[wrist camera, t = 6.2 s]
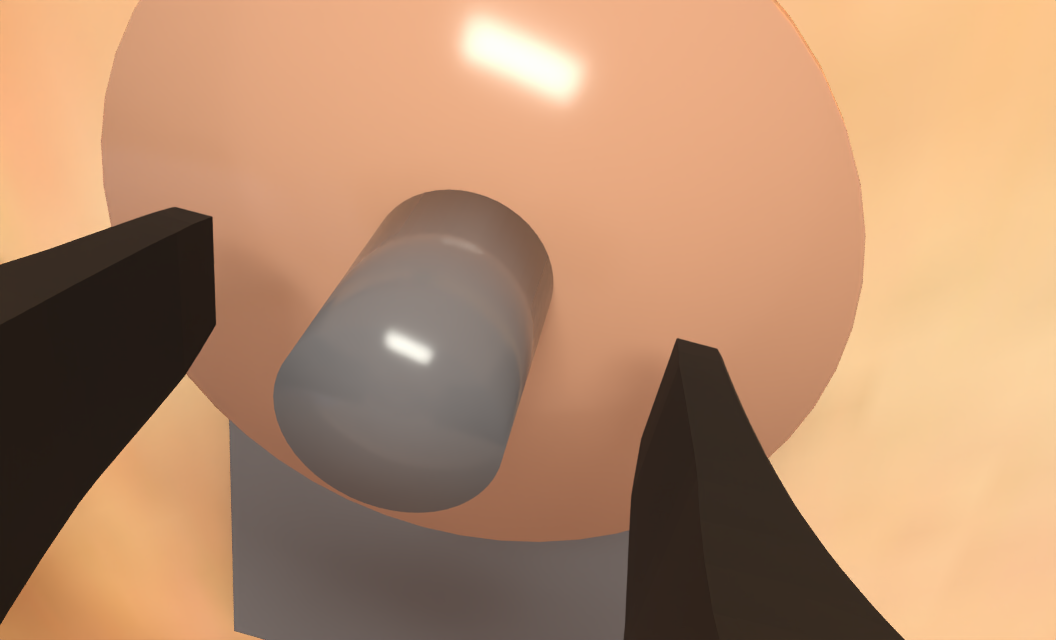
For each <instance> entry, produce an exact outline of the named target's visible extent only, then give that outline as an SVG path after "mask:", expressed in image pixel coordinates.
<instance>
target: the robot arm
mask: <svg viewBox="0 0 1056 640" xmlns="http://www.w3.org/2000/svg"><path fill="white" fill-rule="evenodd" d="M215 326H216V305H215V274H214V244H213V217H212V216H209V215H205V214H201V213H197V212H193V211H189V210H186V209H182V208H178V207H171V208H168V209H164V210H160V211H157V212H154V213H151V214H147V215H144V216H141V217H139V218H136V219H133V220H130V221H127V222H124V223H121V224H119V225H116V226H113V227H110V228H107V229H105V230H102V231H99V232H96V233H94V234H91V235H88V236H85V237H82V238H79V239H77V240H74V241H71V242H68V243H65V244H62V245H60V246H57V247H54V248H51V249H48V250H45V251H42V252H39V253H36V254H33V255H29V256H26V257H23V258H20V259H17V260H13V261H10V262H7V263H4V264H1V265H0V625H1V623H2V621H3V620H4V618H5V616H6V614H7V613H8V611H9V609H10V608H11V606H12V605H13V603H14V602H15V600H16V598H17V597H18V595H19V594H20V592H21V590H22V589H23V587H24V586H25V584H26V583H27V581H28V579H29V578H30V576H31V575H32V573H33V571H34V570H35V568H36V567H37V565H38V564H39V562H40V560H41V559H42V557H43V556H44V554H45V553H46V551H47V550H48V548H49V547H50V545H51V544H52V542H53V541H54V539H55V538H56V536H57V535H58V533H59V532H60V530H61V529H62V527H63V526H64V524H65V523H66V522H67V520H68V519H69V517H70V516H71V514H72V513H73V511H74V510H75V508H76V507H77V505H78V504H79V502H80V501H81V500H82V498H83V497H84V496H85V495H86V493H87V492H88V491H89V489H90V488H91V487H92V486H93V484H94V483H95V482H96V480H97V479H98V478H99V477H100V476H101V474H102V473H103V472H104V471H105V470H106V469H107V467H108V466H109V465H110V464H111V463H112V462H113V460H114V459H115V458H116V457H117V456H118V454H119V453H120V452H121V451H122V450H123V449H124V447H125V446H126V445H127V444H128V443H129V442H130V440H131V439H132V438H133V437H134V436H135V435H136V433H137V432H138V431H139V430H140V429H141V427H142V426H143V425H144V424H145V423H146V422H147V420H148V419H149V418H150V417H151V416H152V415H153V413H154V412H155V411H156V410H157V409H158V407H159V406H160V405H161V404H162V403H163V401H164V400H165V399H166V398H167V397H168V395H169V394H170V393H171V392H172V391H173V389H174V388H175V387H176V386H177V385H178V383H179V382H180V381H181V380H182V378H183V377H184V376H185V375H186V373H187V372H188V370H189V368H190V367H191V365H192V364H193V362H194V361H195V359H196V358H197V356H198V354H199V353H200V351H201V349H202V348H203V346H204V344H205V343H206V341H207V339H208V338H209V336H210V334H211V333H212V331H213V329H214V327H215ZM624 640H905V639H904V638H903V637H902V636H901V635H900V634H899V633H898V632H897V631H896V630H895V629H894V628H893V627H892V626H891V625H890V624H889V623H888V622H887V621H886V620H885V619H884V618H883V616H882V615H881V614H880V613H879V612H878V611H877V610H876V609H875V608H874V607H873V606H872V604H871V603H870V602H869V601H868V600H867V599H866V597H865V596H864V595H863V594H862V593H861V592H860V590H859V589H858V588H857V587H856V586H855V584H854V583H853V582H852V581H851V580H850V579H849V577H848V576H847V575H846V574H845V573H844V572H843V570H842V569H841V568H840V567H839V565H838V564H837V563H836V561H835V560H834V559H833V558H832V556H831V555H830V554H829V553H828V551H827V550H826V549H825V547H824V546H823V544H822V543H821V542H820V540H819V539H818V537H817V536H816V535H815V533H814V532H813V530H812V529H811V528H810V526H809V525H808V523H807V522H806V521H805V519H804V518H803V516H802V515H801V513H800V512H799V510H798V509H797V507H796V506H795V504H794V503H793V501H792V499H791V498H790V496H789V494H788V493H787V491H786V489H785V488H784V486H783V484H782V482H781V481H780V479H779V477H778V476H777V474H776V472H775V470H774V468H773V467H772V465H771V463H770V461H769V459H768V457H767V456H766V454H765V452H764V450H763V448H762V446H761V444H760V442H759V440H758V438H757V436H756V434H755V432H754V430H753V428H752V426H751V424H750V422H749V419H748V417H747V415H746V413H745V411H744V409H743V406H742V404H741V402H740V399H739V397H738V395H737V393H736V390H735V388H734V385H733V383H732V381H731V378H730V376H729V373H728V371H727V368H726V366H725V363H724V361H723V358H722V356H721V354H720V352H719V351H718V349H717V348H713V347H709V346H706V345H702V344H698V343H694V342H690V341H687V340H683V339H679V338H677V339H676V341H675V344H674V347H673V350H672V353H671V356H670V358H669V361H668V364H667V367H666V370H665V372H664V375H663V378H662V381H661V384H660V387H659V389H658V392H657V395H656V398H655V401H654V403H653V406H652V409H651V412H650V415H649V418H648V420H647V423H646V426H645V429H644V432H643V434H642V437H641V442H640V447H639V453H638V458H637V464H636V470H635V476H634V482H633V487H632V493H631V506H630V525H629V546H628V568H627V590H626V612H625V630H624Z"/></svg>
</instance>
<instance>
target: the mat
mask: <svg viewBox="0 0 1056 640" xmlns="http://www.w3.org/2000/svg"><path fill="white" fill-rule="evenodd" d="M229 429H230V471H231V512H232V554H233V596H234V631H237V632H240V633H244V634H247V635H251V636H254V637H258V638H261V639H265V640H624V630H625V612H626V590H627V568H628V546H629V530H628V531H624V532H620V533H617V534H610V535H604V536H598V537H592V538H585V539H579V540H564V541H547V542H528V541H501V540H493V539H485V538H477V537H470V536H462V535H457V534H453V533H448V532H444V531H439V530H435V529H430V528H426V527H422V526H418V525H415V524H412V523H409V522H406V521H403V520H399V519H396V518H393V517H390V516H387V515H384V514H382V513H379V512H377V511H374V510H372V509H369V508H367V507H365V506H362V505H360V504H357V503H355V502H353V501H350V500H348V499H346V498H344V497H342V496H340V495H338V494H336V493H334V492H332V491H331V490H329V489H327V488H325V487H323V486H321V485H319V484H317V483H315V482H313V481H311V480H310V479H308V478H307V477H305V476H304V475H302V474H300V473H299V472H297V471H296V470H294V469H293V468H291V467H289V466H288V465H286V464H285V463H283V462H282V461H280V460H278V459H277V458H276V457H275V456H273V455H272V454H271V453H269V452H268V451H267V450H265V449H264V448H263V447H261V446H260V445H259V444H258V443H256V442H255V441H254V440H252V439H251V438H250V437H248V436H247V435H246V434H245V433H244V432H243V431H242V430H240V429H239V428H238V427H237V426H236V425H235V424H234V423H233V422H232V421H231V420H230V419H229Z"/></svg>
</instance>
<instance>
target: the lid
mask: <svg viewBox="0 0 1056 640" xmlns="http://www.w3.org/2000/svg"><path fill="white" fill-rule="evenodd" d="M101 147H102V165H103V183H104V190H105V195H106V200H107V206H108V211H109V216H110V221H111V227H113V226H116V225H119V224H121V223H124V222H127V221H130V220H133V219H136V218H139V217H141V216H144V215H147V214H151V213H154V212H157V211H160V210H164V209H168V208H171V207H178V208H182V209H186V210H189V211H193V212H197V213H201V214H205V215H209V216H212V217H213V244H214V274H215V305H216V326H215V327H214V329H213V331H212V333H211V334H210V336H209V338H208V339H207V341H206V343H205V344H204V346H203V348H202V349H201V351H200V353H199V354H198V356H197V358H196V359H195V361H194V362H193V364H192V365H191V367H190V368H189V370H188V372H187V373H186V374H187V375H188V376H189V378H190V379H191V380H192V381H193V382H194V383H195V384H196V385H197V386H198V388H199V389H200V390H201V391H202V392H203V393H204V394H205V395H206V396H207V398H208V399H209V400H210V401H211V402H212V403H213V404H214V405H215V406H216V407H217V408H218V409H219V410H220V411H221V412H222V413H223V414H224V415H225V416H226V417H227V418H228V419H230V420H231V421H232V422H233V423H234V424H235V425H236V426H237V427H238V428H239V429H240V430H242V431H243V432H244V433H245V434H246V435H247V436H248V437H250V438H251V439H252V440H254V441H255V442H256V443H258V444H259V445H260V446H261V447H263V448H264V449H265V450H267V451H268V452H269V453H271V454H272V455H273V456H275V457H276V458H277V459H278V460H280V461H282V462H283V463H285V464H286V465H288V466H289V467H291V468H293V469H294V470H296V471H297V472H299V473H300V474H302V475H304V476H305V477H307V478H308V479H310V480H311V481H313V482H315V483H317V484H319V485H321V486H323V487H325V488H327V489H329V490H331V491H332V492H334V493H336V494H338V495H340V496H342V497H344V498H346V499H348V500H350V501H353V502H355V503H357V504H360V505H362V506H365V507H367V508H369V509H372V510H374V511H377V512H379V513H382V514H384V515H387V516H390V517H393V518H396V519H399V520H403V521H406V522H409V523H412V524H415V525H418V526H422V527H426V528H430V529H435V530H439V531H444V532H448V533H453V534H457V535H462V536H470V537H477V538H485V539H493V540H501V541H528V542H547V541H564V540H579V539H585V538H592V537H598V536H604V535H610V534H617V533H620V532H624V531H628V530H629V525H630V506H631V493H632V487H633V482H634V476H635V470H636V464H637V458H638V453H639V447H640V442H641V437H642V434H643V432H644V429H645V426H646V423H647V420H648V418H649V415H650V412H651V409H652V406H653V403H654V401H655V398H656V395H657V392H658V389H659V387H660V384H661V381H662V378H663V375H664V372H665V370H666V367H667V364H668V361H669V358H670V356H671V353H672V350H673V347H674V344H675V341H676V339H677V338H679V339H683V340H687V341H690V342H694V343H698V344H702V345H706V346H709V347H713V348H717V349H718V351H719V352H720V354H721V356H722V358H723V361H724V363H725V366H726V368H727V371H728V373H729V376H730V378H731V381H732V383H733V385H734V388H735V390H736V393H737V395H738V397H739V399H740V402H741V404H742V406H743V409H744V411H745V413H746V415H747V417H748V419H749V422H750V424H751V426H752V428H753V430H754V432H755V434H756V436H757V438H758V440H759V442H760V444H761V446H762V448H763V450H764V452H765V454H766V456H767V457H768V458H769V457H770V456H771V455H772V454H773V453H774V452H775V451H776V450H777V449H778V448H779V447H780V446H781V445H782V444H784V443H785V442H786V441H787V440H788V439H789V438H790V436H791V435H792V434H793V433H794V431H795V430H796V429H797V428H798V426H799V425H800V424H801V423H802V421H803V420H804V419H805V418H806V416H807V415H808V414H809V413H810V411H811V410H812V409H813V408H814V406H815V405H816V403H817V401H818V400H819V398H820V396H821V395H822V393H823V391H824V389H825V388H826V386H827V384H828V383H829V381H830V379H831V377H832V376H833V374H834V372H835V371H836V369H837V366H838V364H839V361H840V358H841V356H842V353H843V351H844V348H845V346H846V343H847V341H848V338H849V336H850V333H851V331H852V328H853V323H854V319H855V315H856V310H857V306H858V301H859V297H860V292H861V288H862V283H863V267H864V251H865V225H864V214H863V204H862V193H861V184H860V180H859V176H858V172H857V168H856V164H855V161H854V157H853V153H852V149H851V145H850V141H849V137H848V133H847V130H846V127H845V123H844V120H843V117H842V115H841V112H840V110H839V108H838V105H837V103H836V101H835V98H834V96H833V94H832V91H831V89H830V87H829V84H828V82H827V79H826V77H825V75H824V72H823V70H822V68H821V66H820V64H819V62H818V61H817V59H816V58H815V56H814V54H813V53H812V51H811V50H810V48H809V46H808V45H807V43H806V41H805V40H804V38H803V37H802V35H801V33H800V32H799V30H798V28H797V27H796V25H795V24H794V22H793V20H792V19H791V17H790V16H789V15H788V14H787V12H786V11H785V10H784V9H783V8H782V6H781V5H780V4H779V3H778V2H777V0H140V1H139V2H138V4H137V6H136V7H135V9H134V11H133V13H132V15H131V18H130V20H129V22H128V25H127V27H126V30H125V32H124V34H123V37H122V39H121V42H120V44H119V46H118V49H117V51H116V54H115V58H114V62H113V66H112V70H111V74H110V79H109V83H108V87H107V91H106V95H105V103H104V115H103V126H102V138H101Z"/></svg>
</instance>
